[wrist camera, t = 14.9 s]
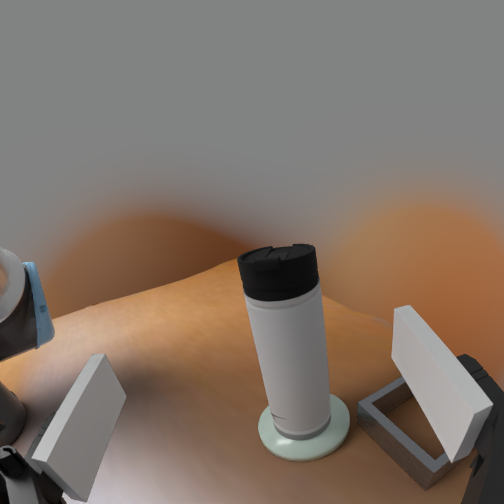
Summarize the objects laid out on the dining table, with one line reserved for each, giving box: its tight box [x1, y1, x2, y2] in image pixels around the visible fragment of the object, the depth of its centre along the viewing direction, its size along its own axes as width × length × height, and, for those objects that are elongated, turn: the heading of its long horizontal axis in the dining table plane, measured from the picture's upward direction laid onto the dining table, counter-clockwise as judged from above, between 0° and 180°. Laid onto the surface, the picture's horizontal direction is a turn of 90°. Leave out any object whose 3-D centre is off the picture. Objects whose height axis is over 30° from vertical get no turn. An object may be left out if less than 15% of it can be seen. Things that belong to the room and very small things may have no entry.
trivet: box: [258, 394, 350, 462], centre depth 31 cm, size 10×10×1 cm
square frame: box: [357, 376, 475, 491], centre depth 25 cm, size 12×12×4 cm
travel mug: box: [237, 244, 331, 440], centre depth 28 cm, size 6×7×20 cm
